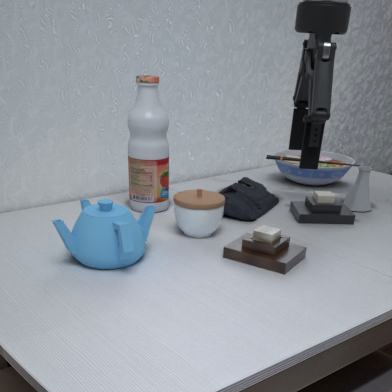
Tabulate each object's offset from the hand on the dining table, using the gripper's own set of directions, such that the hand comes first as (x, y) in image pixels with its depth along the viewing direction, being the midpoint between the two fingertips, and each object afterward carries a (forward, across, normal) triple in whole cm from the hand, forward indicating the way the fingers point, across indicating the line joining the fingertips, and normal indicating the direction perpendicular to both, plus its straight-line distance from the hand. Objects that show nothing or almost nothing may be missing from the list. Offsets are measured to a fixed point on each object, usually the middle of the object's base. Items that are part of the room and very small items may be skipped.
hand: (301, 158), depth 82 cm
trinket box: (+20, -18, -17) cm, 32 cm away
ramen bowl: (+20, -62, +14) cm, 67 cm away
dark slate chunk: (+20, -38, -7) cm, 44 cm away
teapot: (+20, -2, -33) cm, 39 cm away
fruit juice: (+20, -34, -29) cm, 49 cm away
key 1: (+16, -6, -3) cm, 18 cm away
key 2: (+16, -33, +12) cm, 38 cm away
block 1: (+20, -6, -4) cm, 21 cm away
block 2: (+20, -33, +12) cm, 40 cm away
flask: (+20, -41, +23) cm, 51 cm away
